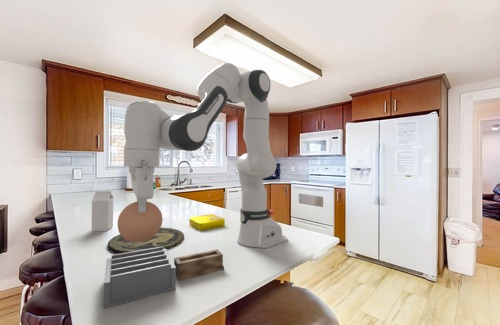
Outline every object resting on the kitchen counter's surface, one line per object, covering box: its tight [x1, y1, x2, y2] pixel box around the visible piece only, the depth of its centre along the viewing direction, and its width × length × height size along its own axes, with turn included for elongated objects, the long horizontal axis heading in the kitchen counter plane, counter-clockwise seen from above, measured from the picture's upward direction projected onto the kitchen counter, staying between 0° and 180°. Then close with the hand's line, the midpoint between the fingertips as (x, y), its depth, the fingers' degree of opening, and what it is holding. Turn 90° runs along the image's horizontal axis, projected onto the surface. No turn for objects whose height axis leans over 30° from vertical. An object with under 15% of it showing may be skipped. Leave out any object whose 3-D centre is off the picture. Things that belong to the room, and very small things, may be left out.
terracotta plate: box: [117, 200, 163, 242], centre depth 62 cm, size 11×1×11 cm, turn 120°
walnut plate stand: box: [173, 249, 225, 282], centre depth 72 cm, size 14×7×4 cm, turn 120°
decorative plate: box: [106, 227, 185, 255], centre depth 97 cm, size 30×2×30 cm
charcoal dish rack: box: [103, 247, 177, 309], centre depth 63 cm, size 16×15×7 cm
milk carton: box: [91, 190, 114, 232], centre depth 112 cm, size 7×7×19 cm
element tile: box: [189, 213, 226, 232], centre depth 122 cm, size 15×15×5 cm
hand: (141, 210), depth 62 cm, fingers closed on terracotta plate, 1 cm apart
